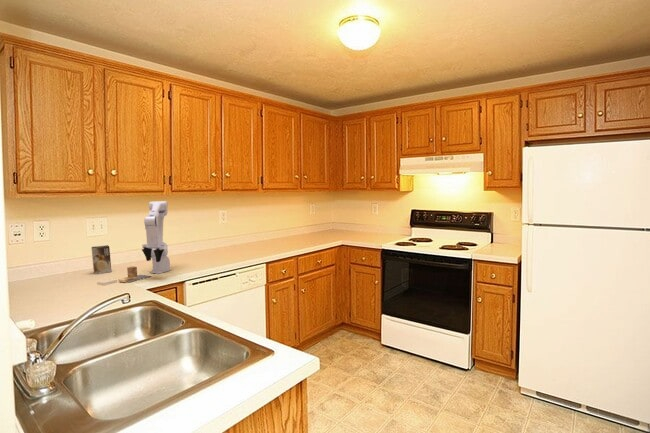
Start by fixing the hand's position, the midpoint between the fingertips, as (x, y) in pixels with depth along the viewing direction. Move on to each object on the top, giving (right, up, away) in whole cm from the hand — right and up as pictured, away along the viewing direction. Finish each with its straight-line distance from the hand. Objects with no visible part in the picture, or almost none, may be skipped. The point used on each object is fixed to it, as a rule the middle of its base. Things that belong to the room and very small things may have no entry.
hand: (153, 261), depth 209 cm
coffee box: (-39, -9, +17) cm, 44 cm away
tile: (-20, -10, -5) cm, 23 cm away
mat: (-11, -10, 0) cm, 15 cm away
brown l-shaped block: (-12, -10, -3) cm, 16 cm away
